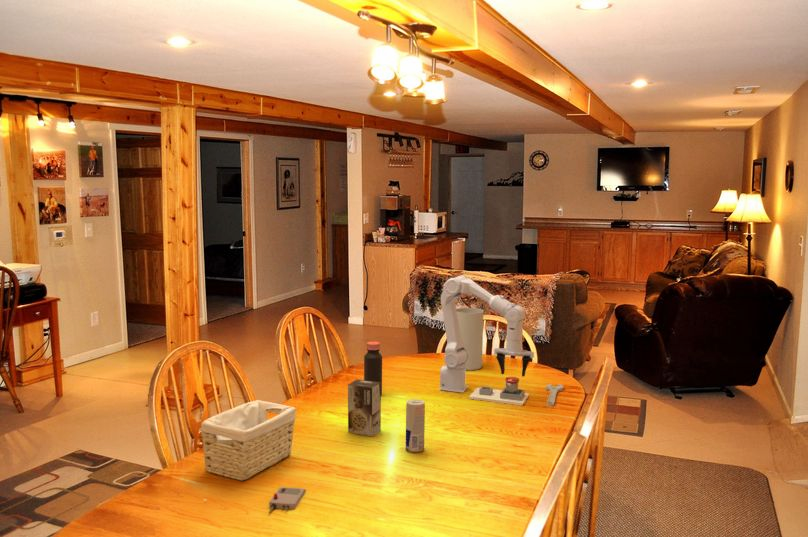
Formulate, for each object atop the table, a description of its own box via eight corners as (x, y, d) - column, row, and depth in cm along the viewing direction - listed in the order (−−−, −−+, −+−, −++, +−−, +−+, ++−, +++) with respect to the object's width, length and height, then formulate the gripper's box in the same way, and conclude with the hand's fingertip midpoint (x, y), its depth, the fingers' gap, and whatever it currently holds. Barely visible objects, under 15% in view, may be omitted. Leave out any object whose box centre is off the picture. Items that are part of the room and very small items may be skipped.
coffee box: (381, 430, 223) (381, 382, 221) (372, 437, 217) (372, 387, 215) (356, 426, 226) (356, 378, 224) (347, 432, 221) (347, 383, 219)
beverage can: (426, 447, 209) (427, 399, 207) (420, 454, 204) (421, 405, 202) (409, 444, 211) (409, 397, 209) (403, 451, 206) (403, 403, 204)
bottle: (385, 395, 258) (385, 343, 256) (369, 398, 255) (370, 346, 252) (375, 391, 264) (376, 340, 261) (360, 394, 260) (360, 342, 258)
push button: (502, 397, 255) (503, 379, 254) (507, 394, 259) (508, 376, 258) (515, 399, 252) (516, 381, 252) (520, 396, 257) (520, 378, 256)
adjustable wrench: (553, 408, 249) (554, 403, 248) (536, 406, 251) (536, 401, 251) (564, 388, 272) (564, 384, 271) (547, 386, 274) (548, 382, 274)
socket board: (469, 399, 256) (469, 391, 255) (476, 390, 267) (477, 382, 267) (522, 405, 249) (523, 397, 249) (528, 396, 260) (528, 388, 260)
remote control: (307, 489, 181) (307, 478, 180) (290, 518, 165) (290, 506, 165) (283, 487, 182) (283, 476, 181) (263, 515, 166) (263, 504, 166)
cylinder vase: (451, 369, 295) (453, 312, 292) (454, 362, 307) (455, 307, 304) (481, 371, 293) (482, 313, 290) (482, 363, 305) (484, 308, 302)
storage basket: (255, 444, 210) (254, 397, 208) (298, 454, 203) (298, 406, 201) (198, 473, 189) (197, 421, 187) (245, 486, 182) (244, 432, 180)
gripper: (492, 339, 252) (491, 375, 254) (532, 343, 247) (530, 379, 249) (496, 335, 259) (495, 370, 261) (535, 338, 254) (534, 374, 256)
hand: (513, 374), depth 255 cm, fingers open, 7 cm apart
